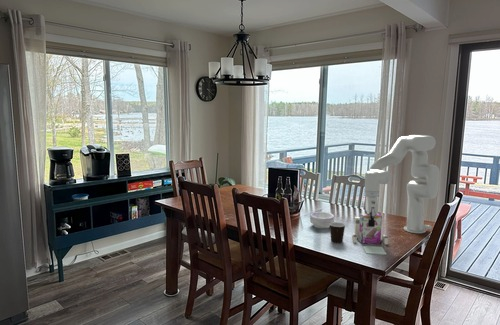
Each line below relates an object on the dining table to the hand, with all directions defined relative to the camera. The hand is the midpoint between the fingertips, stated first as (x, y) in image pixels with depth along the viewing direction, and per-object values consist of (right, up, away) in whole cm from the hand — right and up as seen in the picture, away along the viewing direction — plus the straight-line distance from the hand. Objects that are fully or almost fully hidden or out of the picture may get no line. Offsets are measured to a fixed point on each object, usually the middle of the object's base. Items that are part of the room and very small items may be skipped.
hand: (370, 224), depth 191 cm
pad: (-2, -12, -11) cm, 16 cm away
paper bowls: (-21, -7, +31) cm, 38 cm away
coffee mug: (-19, -11, +2) cm, 22 cm away
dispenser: (+1, -10, +5) cm, 11 cm away
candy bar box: (0, -11, +1) cm, 11 cm away
